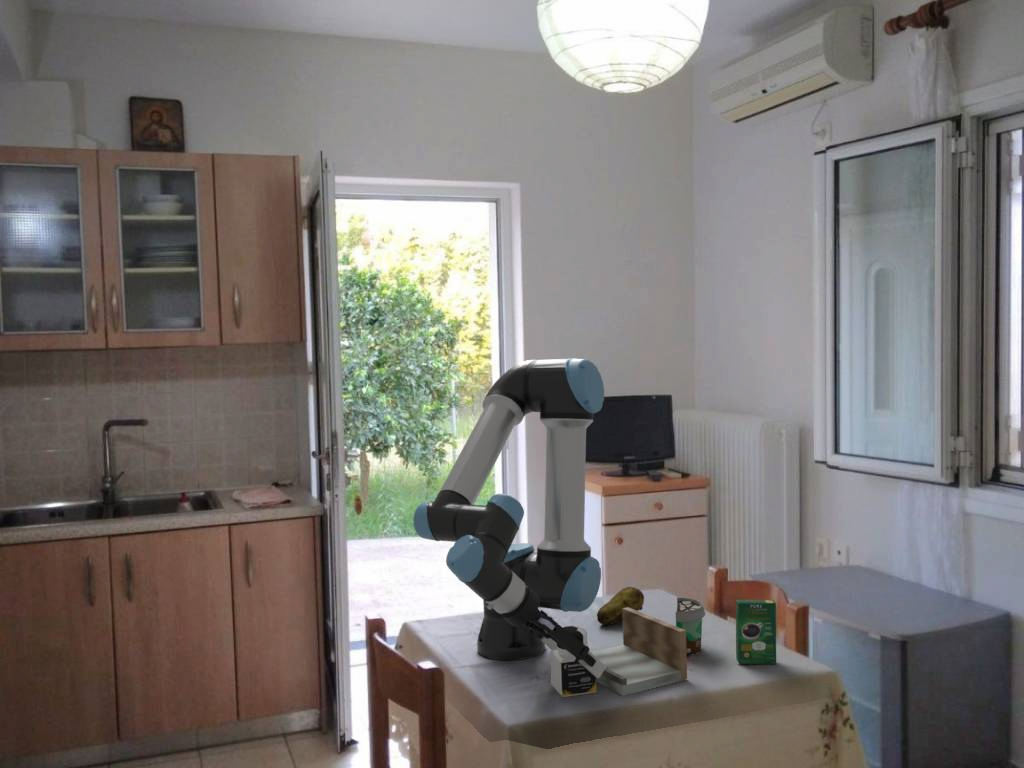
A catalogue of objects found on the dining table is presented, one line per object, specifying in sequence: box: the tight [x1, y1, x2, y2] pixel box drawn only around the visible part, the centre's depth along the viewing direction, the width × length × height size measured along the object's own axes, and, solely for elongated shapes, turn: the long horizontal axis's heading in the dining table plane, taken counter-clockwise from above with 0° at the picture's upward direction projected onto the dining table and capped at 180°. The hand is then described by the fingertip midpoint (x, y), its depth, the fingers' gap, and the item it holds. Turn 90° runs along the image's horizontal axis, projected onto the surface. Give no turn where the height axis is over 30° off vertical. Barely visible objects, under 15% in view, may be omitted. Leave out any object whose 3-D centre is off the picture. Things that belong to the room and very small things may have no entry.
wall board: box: [590, 607, 688, 697], centre depth 192 cm, size 20×16×10 cm
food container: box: [675, 596, 706, 656], centre depth 205 cm, size 12×6×10 cm, turn 168°
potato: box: [596, 586, 645, 626], centre depth 227 cm, size 8×13×8 cm, turn 105°
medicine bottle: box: [549, 625, 597, 698], centre depth 184 cm, size 7×7×12 cm
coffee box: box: [735, 599, 777, 665], centre depth 195 cm, size 8×3×13 cm, turn 86°
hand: (583, 662), depth 185 cm, fingers open, 12 cm apart
